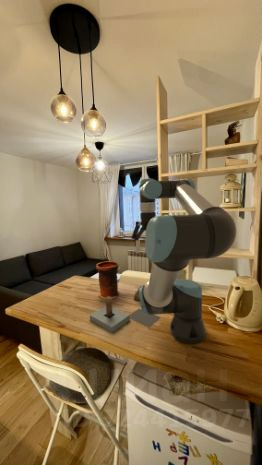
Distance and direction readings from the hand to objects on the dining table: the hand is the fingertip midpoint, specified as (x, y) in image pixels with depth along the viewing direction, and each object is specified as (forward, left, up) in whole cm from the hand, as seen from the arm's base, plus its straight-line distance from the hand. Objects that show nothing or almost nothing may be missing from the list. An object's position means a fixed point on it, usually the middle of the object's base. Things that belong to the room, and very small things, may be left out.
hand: (149, 254), depth 99 cm
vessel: (+34, -2, -32) cm, 46 cm away
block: (+12, +18, -32) cm, 38 cm away
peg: (+12, +18, -32) cm, 38 cm away
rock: (+12, -9, -32) cm, 35 cm away
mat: (0, +6, -32) cm, 32 cm away
